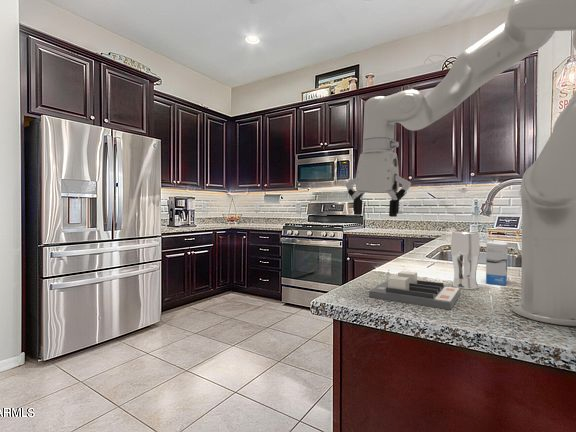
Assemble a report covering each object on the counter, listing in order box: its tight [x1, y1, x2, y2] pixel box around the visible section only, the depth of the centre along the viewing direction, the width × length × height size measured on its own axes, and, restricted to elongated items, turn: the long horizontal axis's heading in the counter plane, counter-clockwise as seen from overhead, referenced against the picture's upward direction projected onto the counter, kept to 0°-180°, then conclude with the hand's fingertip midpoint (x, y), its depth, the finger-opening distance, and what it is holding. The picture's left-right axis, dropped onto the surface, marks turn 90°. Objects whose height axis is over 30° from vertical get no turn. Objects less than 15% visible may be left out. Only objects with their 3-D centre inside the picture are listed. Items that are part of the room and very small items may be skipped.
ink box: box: [485, 240, 509, 286], centre depth 94 cm, size 8×5×12 cm, turn 143°
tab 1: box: [387, 275, 409, 290], centre depth 78 cm, size 4×4×3 cm
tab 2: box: [397, 270, 418, 284], centre depth 85 cm, size 4×4×3 cm
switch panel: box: [368, 279, 462, 311], centre depth 80 cm, size 18×16×2 cm
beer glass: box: [450, 231, 481, 290], centre depth 88 cm, size 7×7×15 cm
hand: (374, 215), depth 82 cm, fingers open, 9 cm apart
